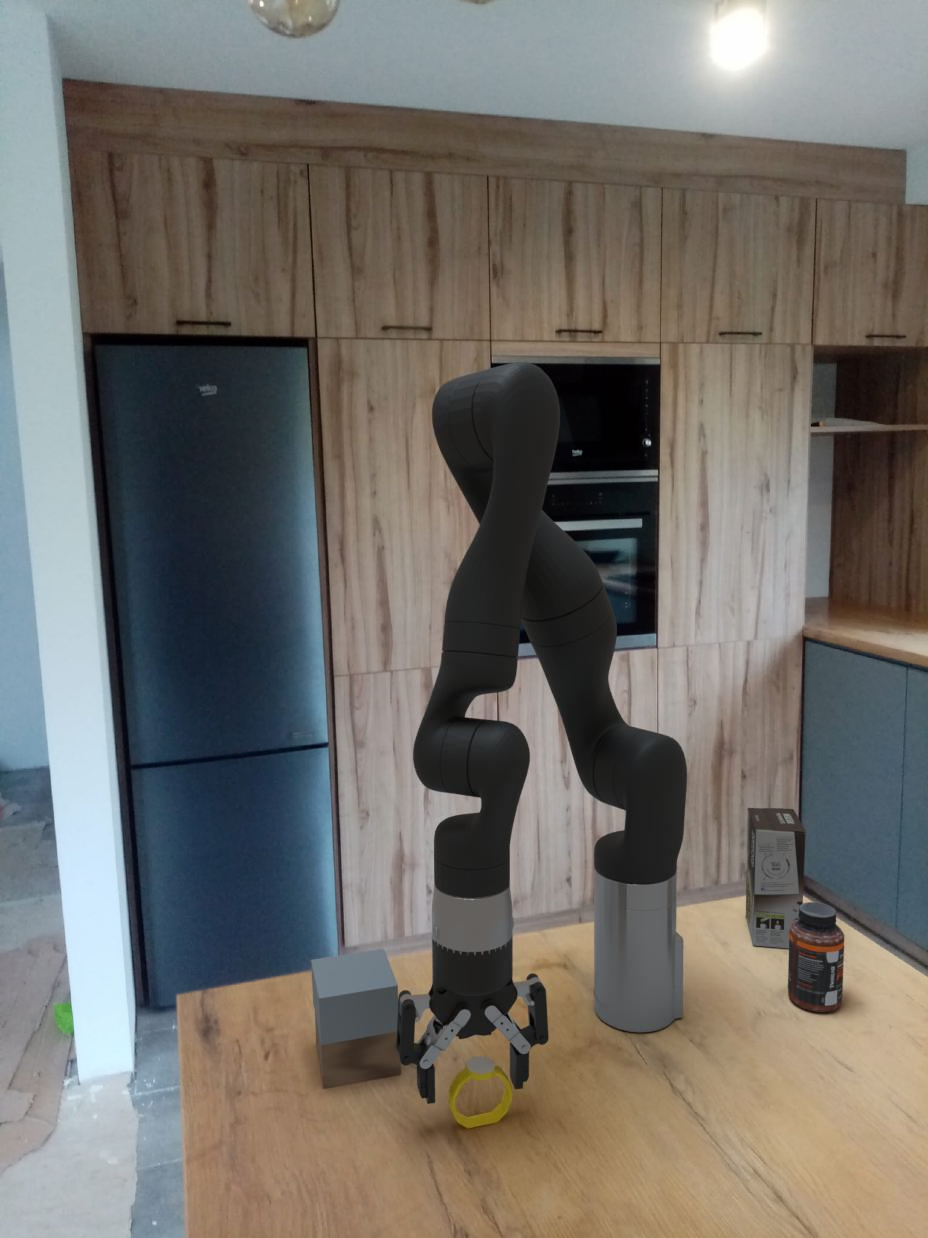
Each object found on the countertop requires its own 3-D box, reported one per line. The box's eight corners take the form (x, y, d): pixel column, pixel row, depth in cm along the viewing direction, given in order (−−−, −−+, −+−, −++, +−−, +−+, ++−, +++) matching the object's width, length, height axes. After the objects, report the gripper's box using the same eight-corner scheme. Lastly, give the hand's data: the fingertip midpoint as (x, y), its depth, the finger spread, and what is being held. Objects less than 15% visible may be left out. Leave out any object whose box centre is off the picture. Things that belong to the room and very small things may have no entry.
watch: (504, 1109, 87) (507, 1052, 86) (513, 1128, 84) (517, 1069, 83) (445, 1117, 85) (448, 1059, 84) (452, 1137, 82) (455, 1077, 82)
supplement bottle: (848, 1017, 100) (851, 922, 99) (792, 1013, 101) (795, 919, 100) (835, 989, 106) (838, 899, 105) (783, 985, 107) (785, 896, 106)
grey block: (385, 991, 99) (383, 948, 98) (399, 1031, 91) (397, 985, 90) (313, 1003, 97) (311, 960, 96) (321, 1045, 89) (319, 998, 88)
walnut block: (388, 1032, 99) (386, 991, 99) (401, 1076, 92) (399, 1031, 91) (316, 1045, 97) (314, 1002, 97) (323, 1090, 90) (321, 1044, 89)
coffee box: (803, 950, 115) (807, 831, 113) (751, 947, 116) (754, 829, 114) (792, 918, 124) (795, 807, 122) (744, 915, 125) (746, 805, 123)
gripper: (533, 904, 87) (532, 1057, 89) (390, 919, 84) (392, 1078, 86) (558, 939, 80) (557, 1105, 82) (403, 958, 77) (405, 1130, 79)
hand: (473, 1091), depth 84 cm, fingers open, 8 cm apart
